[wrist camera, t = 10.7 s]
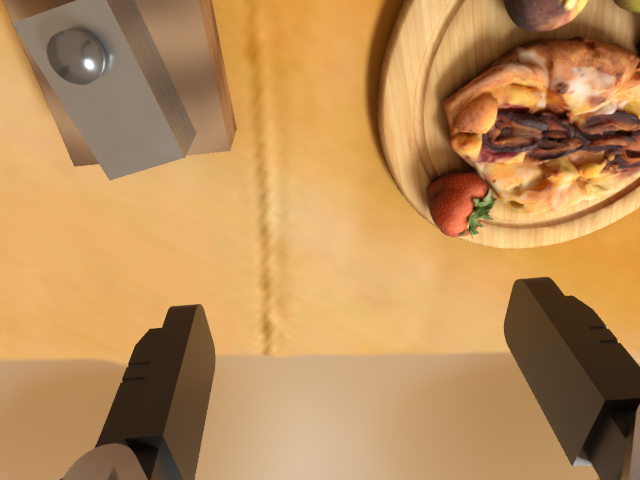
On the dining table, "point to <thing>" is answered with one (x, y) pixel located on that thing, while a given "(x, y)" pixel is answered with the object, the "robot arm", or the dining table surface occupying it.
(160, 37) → the stand
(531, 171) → the wooden plate with food
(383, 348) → the dining table surface
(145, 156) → the housing
